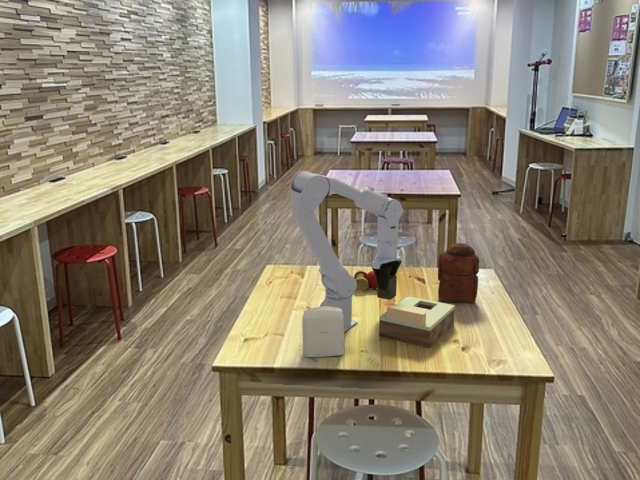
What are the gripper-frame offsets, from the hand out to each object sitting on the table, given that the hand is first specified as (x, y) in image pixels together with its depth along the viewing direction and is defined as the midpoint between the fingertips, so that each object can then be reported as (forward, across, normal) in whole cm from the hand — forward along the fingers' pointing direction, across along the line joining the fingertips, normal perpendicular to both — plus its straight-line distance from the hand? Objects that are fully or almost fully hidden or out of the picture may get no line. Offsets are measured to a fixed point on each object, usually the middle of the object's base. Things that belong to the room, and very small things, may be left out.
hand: (386, 286), depth 174 cm
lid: (+4, -5, -12) cm, 14 cm away
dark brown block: (+3, 0, 0) cm, 3 cm away
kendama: (+9, +17, +19) cm, 27 cm away
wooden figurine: (+9, +23, -13) cm, 28 cm away
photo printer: (+9, -31, +2) cm, 32 cm away
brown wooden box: (+9, -5, -12) cm, 16 cm away
